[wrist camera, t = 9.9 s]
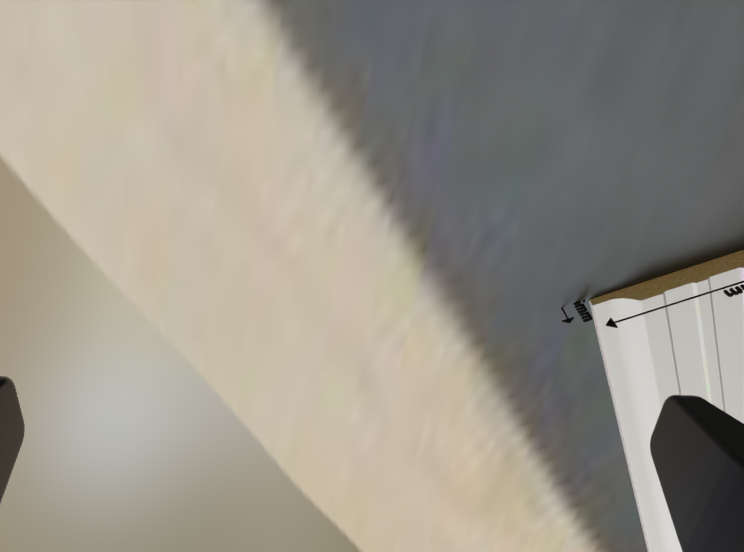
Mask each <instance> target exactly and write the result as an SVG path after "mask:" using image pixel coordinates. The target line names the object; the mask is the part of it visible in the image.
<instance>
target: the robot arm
mask: <svg viewBox="0 0 744 552" xmlns="http://www.w3.org/2000/svg"><path fill="white" fill-rule="evenodd" d="M23 437H24V420H23V416H22V413H21V408H20V404H19V400H18V397H17V392H16V388H15V385H14V383H13V381H12V380H11V379H10V378H8V377H5V376H0V503H1V500H2V498H3V495H4V492H5V489H6V486H7V484H8V481H9V478H10V475H11V473H12V470H13V467H14V464H15V462H16V459H17V456H18V453H19V450H20V447H21V445H22V442H23ZM650 451H651V456H652V459H653V463H654V466H655V469H656V472H657V475H658V478H659V481H660V484H661V488H662V491H663V494H664V497H665V500H666V503H667V506H668V509H669V513H670V516H671V519H672V522H673V525H674V528H675V531H676V535H677V538H678V540H679V543H680V546H681V549H682V552H744V424H743V423H742V422H740V421H738V420H737V419H735V418H734V417H732V416H730V415H729V414H727V413H726V412H724V411H722V410H721V409H719V408H718V407H716V406H714V405H713V404H711V403H710V402H708V401H706V400H705V399H703V398H701V397H699V396H693V395H672V396H669V397H668V398H667V399H666V400H665V402H664V404H663V406H662V409H661V412H660V414H659V417H658V420H657V422H656V425H655V428H654V430H653V433H652V435H651V440H650Z"/></svg>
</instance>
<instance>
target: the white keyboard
mask: <svg viewBox="0 0 744 552" xmlns="http://www.w3.org/2000/svg"><path fill="white" fill-rule="evenodd" d="M583 302H585V300H584V301H583ZM589 302H590V306H591V311H592V315H593V319H594V324H595V328H596V332H597V336H598V341H599V345H600V349H601V353H602V358H603V362H604V366H605V371H606V375H607V379H608V383H609V388H610V392H611V396H612V400H613V405H614V409H615V413H616V418H617V422H618V426H619V430H620V435H621V439H622V443H623V448H624V452H625V456H626V460H627V465H628V469H629V473H630V477H631V482H632V486H633V490H634V495H635V499H636V503H637V507H638V512H639V516H640V520H641V524H642V529H643V533H644V537H645V542H646V546H647V550H648V552H682V549H681V546H680V543H679V540H678V538H677V535H676V531H675V528H674V525H673V522H672V519H671V516H670V513H669V509H668V506H667V503H666V500H665V497H664V494H663V491H662V488H661V484H660V481H659V478H658V475H657V472H656V469H655V466H654V463H653V459H652V456H651V451H650V440H651V435H652V433H653V430H654V428H655V425H656V422H657V420H658V417H659V414H660V412H661V409H662V406H663V404H664V402H665V400H666V399H667V398H668V397H669V396H672V395H693V396H699V397H701V398H703V399H705V400H706V401H708V402H710V403H711V404H713V405H714V406H716V407H718V408H719V409H721V410H722V411H724V412H726V413H727V414H729V415H730V416H732V417H734V418H735V419H737V420H738V421H740V422H742V423H743V424H744V250H742V251H738V252H735V253H732V254H729V255H726V256H723V257H720V258H717V259H714V260H711V261H708V262H704V263H701V264H698V265H695V266H692V267H689V268H686V269H683V270H680V271H677V272H674V273H670V274H667V275H664V276H661V277H658V278H655V279H652V280H649V281H646V282H643V283H640V284H636V285H633V286H630V287H627V288H624V289H621V290H618V291H615V292H612V293H609V294H606V295H602V296H599V297H596V298H593V299H590V300H589ZM580 303H581V301H580V302H577V303H574V305H576V306H575V308H577V309H576V310H577V311H578V313H579V314H580V313H581V314H580V316H583V315H586V316H583V317H581V318H582V319H584V320H583V321H584V322H587V321H590V320H592V317H591V315H590V314H589V312H586V311H587V308H585V305H584V304H583V303H582V304H580ZM581 306H582V307H581ZM578 307H580V308H578ZM561 309H562V310H563V308H561ZM582 309H584V310H582ZM579 310H581V311H579ZM563 312H564V314H565V316H566V318H567V319H566V320H563V321H562V322H566V323H571V321H572V320H573V319H574V317H572V318H568V317H567V315H566V313H565V311H564V310H563ZM583 312H584V313H583ZM588 317H589V318H588ZM585 318H587V319H585Z"/></svg>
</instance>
